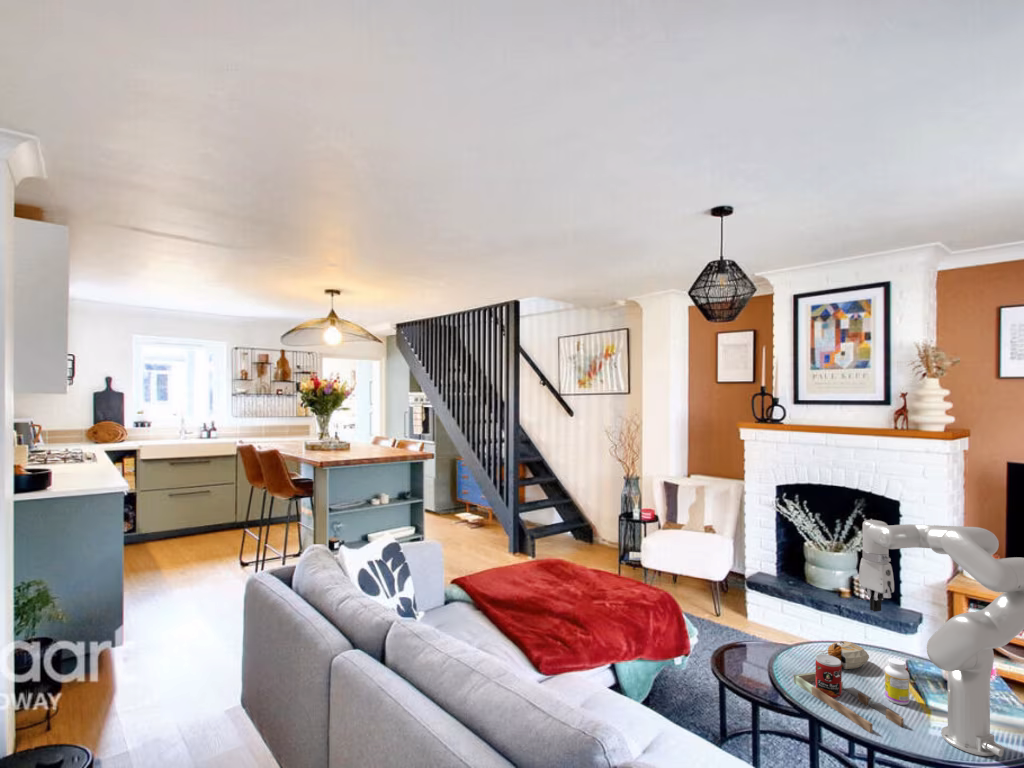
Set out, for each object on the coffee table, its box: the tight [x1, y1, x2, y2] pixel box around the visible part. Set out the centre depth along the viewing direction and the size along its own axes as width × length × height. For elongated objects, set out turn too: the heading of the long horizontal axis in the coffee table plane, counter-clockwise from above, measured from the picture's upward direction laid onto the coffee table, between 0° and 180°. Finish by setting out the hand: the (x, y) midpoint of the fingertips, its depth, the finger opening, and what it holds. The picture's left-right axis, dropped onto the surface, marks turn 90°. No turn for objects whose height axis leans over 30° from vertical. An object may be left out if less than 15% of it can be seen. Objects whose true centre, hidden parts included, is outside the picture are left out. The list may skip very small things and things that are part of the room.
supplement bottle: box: [884, 657, 910, 706], centre depth 183 cm, size 7×7×13 cm
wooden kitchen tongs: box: [793, 671, 905, 734], centre depth 181 cm, size 30×18×2 cm, turn 15°
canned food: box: [815, 653, 843, 699], centre depth 188 cm, size 8×8×11 cm
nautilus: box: [819, 640, 870, 670], centre depth 207 cm, size 8×22×15 cm
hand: (875, 610), depth 190 cm, fingers closed
